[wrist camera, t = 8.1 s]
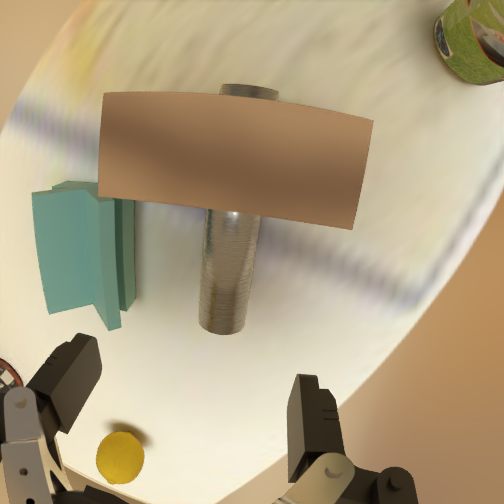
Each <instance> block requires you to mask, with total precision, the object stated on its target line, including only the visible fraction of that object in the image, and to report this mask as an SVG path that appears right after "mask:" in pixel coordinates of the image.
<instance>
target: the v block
mask: <svg viewBox="0 0 504 504" xmlns="http://www.w3.org/2000/svg"><path fill="white" fill-rule="evenodd" d="M32 207H33V220H34V230H35V239H36V247H37V255H38V262H39V268H40V274H41V280H42V285H43V291H44V296H45V300H46V305H47V309H48V313H49V314H53V313H57V312H61V311H65V310H70V309H74V308H78V307H82V306H86V305H90V304H93V305H94V306H95V308H96V310H97V312H98V313H99V315H100V317H101V319H102V320H103V322H104V324H105V326H106V327H107V329H108V331H110V330H114V329H117V328H121V319H120V310H122V311H127V310H128V309H129V308H130V306H131V305H132V303H133V302H134V300H135V299H136V288H135V261H134V200H129V199H120V198H110V197H100V196H98V183H87V182H73V181H66V182H63V183H61V184H58V185H55V186H53V187H52V190H48V191H41V192H34V193H32Z"/></svg>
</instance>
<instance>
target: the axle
mask: <svg viewBox="0 0 504 504" xmlns="http://www.w3.org/2000/svg"><path fill="white" fill-rule="evenodd" d="M220 95H229V96H239V97H248V98H257V99H265V100H272V101H278V95H279V92H278V91H275V90H272V89H268V88H264V87H258V86H251V85H241V84H223V85H221V90H220ZM260 218H261V216H258V215H251V214H244V213H237V212H229V211H222V210H214V209H207V210H206V221H205V233H204V245H203V258H202V271H201V286H200V302H199V319H198V320H199V324H200V325H201V326H202V327H203V328H204V329H205V330H207V331H209V332H211V333H214V334H219V335H230V334H234V333H237V332H239V331H240V330H242V329H243V327H244V325H245V319H246V313H247V306H248V299H249V292H250V286H251V279H252V272H253V266H254V259H255V252H256V245H257V239H258V232H259V225H260Z"/></svg>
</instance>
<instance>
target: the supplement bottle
mask: <svg viewBox="0 0 504 504" xmlns="http://www.w3.org/2000/svg"><path fill="white" fill-rule="evenodd" d="M21 386H22V383H21V381H20V379H19V377H18V375H17V374H16V372H15V371H14V370H13V369H12V368H11V367H10V366H9V365H8V364H7V363H6V362H4V361H2V360H0V393H7V392H8V391H9V390H11V389H13V388H15V387H21Z"/></svg>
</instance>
